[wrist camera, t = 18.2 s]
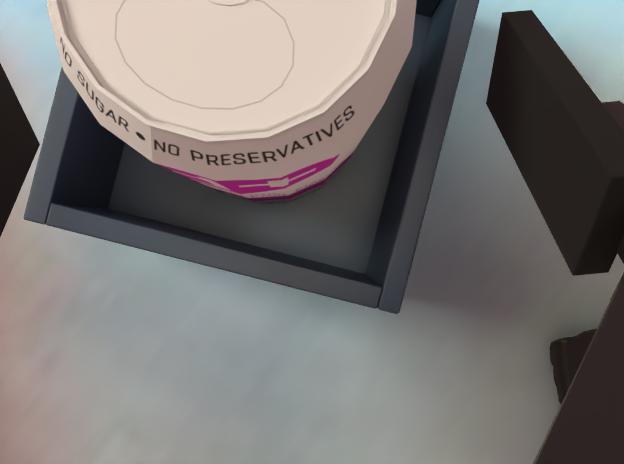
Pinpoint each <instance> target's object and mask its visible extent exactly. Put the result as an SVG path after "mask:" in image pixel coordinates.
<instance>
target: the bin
mask: <svg viewBox="0 0 624 464" xmlns="http://www.w3.org/2000/svg"><path fill="white" fill-rule="evenodd" d="M478 4H479V0H417V2H416V12H415V21H414V31H413V40H412V47H411V49H410V52H409V54H408V56H407V58H406V60H405V62H404V64H403V66H402V68H401V70H400V72H399V74H398V76H397V78H396V80H395V82H394V84H393V87H392V89H391V91H390V93H389V95H388V97H387V99H386V101H385V103H384V105H383V106H382V108H381V110H380V111H379V113H378V114H377V116H376V117H375V119H374V121H373V122H372V124H371V125H370V127H369V128H368V130H367V131H366V133H365V135H364V136H363V138H362V139H361V141H360V142H359V144H358V145H357V147H356V149H355V150H354V152H353V153H352V155H351V156H350V158H349V159H348V161H347V163H346V164H345V166H344V167H343V168H342V169H341V170H340V171H338V172H337V173H336V174H335V175H334V176H333V177H332V178H331V179H330V180H329V181H328V182H327V183H326V184H325V185H324V186H323V187H322V188H321V189H318V190H316V191H314V192H312V193H309V194H307V195H305V196H303V197H300V198H298V199H296V200H294V201H291V202H277V203H263V204H258V203H255V202H251V201H248V200H244V199H241V198H237V197H234V196H230V195H227V194H225V193H222V192H220V191H218V190H215V189H213V188H211V187H209V186H206V185H204V184H202V183H199V182H197V181H195V180H192V179H190V178H188V177H186V176H183V175H181V174H179V173H176V172H174V171H172V170H169V169H167V168H165V167H163V166H160V165H158V164H156V163H153V162H152V161H150V160H149V159H147V158H146V157H145V156H143V155H142V154H141V153H139V152H138V151H136V150H135V149H134V148H132V147H131V146H129V145H128V144H127V143H125V142H124V141H123V140H121V139H120V138H118V137H117V136H116V135H114V134H113V133H111V132H110V131H109V130H107V129H106V128H105V127H103V126H102V125H100V124H99V122H98V121H97V119H96V118H95V116H94V115H93V113H92V112H91V110H90V109H89V107H88V106H87V104H86V103H85V102H84V100H83V99H82V97H81V96H80V94H79V93H78V91H77V90H76V88H75V87H74V85H73V84H72V82H71V81H70V79H69V78H68V77H67V75H66V74H65V72H64V71H63V67H62V69H61V72H60V76H59V80H58V84H57V88H56V92H55V96H54V100H53V104H52V108H51V112H50V116H49V120H48V124H47V128H46V132H45V135H44V139H43V143H42V147H41V151H40V155H39V159H38V163H37V167H36V171H35V175H34V179H33V183H32V187H31V191H30V195H29V198H28V202H27V206H26V210H25V214H24V219H25V220H29V221H33V222H37V223H41V224H47V225H49V226H53V227H56V228H60V229H64V230H68V231H72V232H76V233H80V234H84V235H88V236H92V237H96V238H100V239H104V240H108V241H112V242H115V243H119V244H123V245H127V246H131V247H135V248H139V249H143V250H147V251H151V252H155V253H159V254H163V255H167V256H170V257H174V258H178V259H182V260H186V261H190V262H194V263H198V264H202V265H206V266H210V267H214V268H218V269H222V270H226V271H229V272H233V273H237V274H241V275H245V276H249V277H253V278H257V279H261V280H265V281H269V282H273V283H277V284H281V285H285V286H288V287H292V288H296V289H300V290H304V291H308V292H312V293H316V294H320V295H324V296H328V297H332V298H336V299H340V300H343V301H347V302H351V303H355V304H359V305H363V306H367V307H371V308H375V309H376V308H378V309H380V310H383V311H387V312H391V313H395V314H398V313H399V312H400V308H401V304H402V300H403V296H404V292H405V288H406V284H407V281H408V277H409V273H410V269H411V265H412V261H413V257H414V253H415V249H416V245H417V242H418V238H419V234H420V230H421V226H422V222H423V218H424V214H425V210H426V206H427V203H428V199H429V195H430V191H431V187H432V183H433V179H434V175H435V171H436V168H437V164H438V160H439V156H440V152H441V148H442V144H443V140H444V136H445V132H446V129H447V125H448V121H449V117H450V113H451V109H452V105H453V101H454V97H455V93H456V90H457V86H458V82H459V78H460V74H461V70H462V66H463V62H464V58H465V54H466V51H467V47H468V43H469V39H470V35H471V31H472V27H473V23H474V19H475V15H476V12H477V8H478Z"/></svg>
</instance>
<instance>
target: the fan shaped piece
mask: <svg viewBox="0 0 624 464" xmlns="http://www.w3.org/2000/svg"><path fill="white" fill-rule="evenodd" d="M596 330H597V329H594V330H589V331H584V332H582V333H581V334H579V335H577V336H574V337H569V338H562V339H558V340H555V341H553V342H552V343H551V346H550V357H551V363H552V365H553V372H554V380H555V384H556V386H557V392H558V395H559V402H560V404H562V402H563V399H564V397H565V395H566V393H567V391H568V389H569V387H570V385H571V383H572V381H573V378H574V376H575V374H576V372H577V370H578V368H579V366H580V364H581V362H582V359H583V357H584V355H585V353H586V351H587V349H588V347H589V345H590V343H591V341H592V338H593V336H594V334H595V332H596Z"/></svg>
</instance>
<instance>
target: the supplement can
mask: <svg viewBox="0 0 624 464" xmlns="http://www.w3.org/2000/svg"><path fill="white" fill-rule="evenodd" d="M416 2H417V0H48V5H47V8H48V12H49V16H50V20H51V24H52V28H53V32H54V36H55V40H56V44H57V48H58V52H59V56H60V59H61V63H62V67H63V71H64V72H65V74H66V75H67V77H68V78H69V79H70V81H71V82H72V84H73V85H74V87H75V88H76V90H77V91H78V93H79V94H80V96H81V97H82V99H83V100H84V102H85V103H86V104H87V106H88V107H89V109H90V110H91V112H92V113H93V115H94V116H95V118H96V119H97V121H98V122H99V124H100V125H102V126H103V127H105V128H106V129H107V130H109V131H110V132H111V133H113V134H114V135H116V136H117V137H118V138H120V139H121V140H123V141H124V142H125V143H127V144H128V145H129V146H131V147H132V148H134V149H135V150H136V151H138V152H139V153H141V154H142V155H143V156H145V157H146V158H147V159H149V160H150V161H152V162H153V163H156V164H158V165H160V166H163V167H165V168H167V169H169V170H172V171H174V172H176V173H179V174H181V175H183V176H186V177H188V178H190V179H192V180H195V181H197V182H199V183H202V184H204V185H206V186H209V187H211V188H213V189H215V190H218V191H220V192H222V193H225V194H227V195H230V196H234V197H237V198H241V199H244V200H248V201H251V202H255V203H258V204H263V203H277V202H291V201H294V200H296V199H298V198H300V197H303V196H305V195H307V194H309V193H312V192H314V191H316V190H318V189H321V188H322V187H323V186H324V185H325V184H326V183H327V182H328V181H329V180H330V179H331V178H332V177H333V176H334V175H335V174H336V173H337V172H338V171H340V170H341V169H342V168H343V167H344V166H345V164H346V163H347V161H348V159H349V158H350V156H351V155H352V153H353V152H354V150H355V149H356V147H357V145H358V144H359V142H360V141H361V139H362V138H363V136H364V135H365V133H366V131H367V130H368V128H369V127H370V125H371V124H372V122H373V121H374V119H375V117H376V116H377V114H378V113H379V111H380V110H381V108H382V106H383V105H384V103H385V101H386V99H387V97H388V95H389V93H390V91H391V89H392V87H393V84H394V82H395V80H396V78H397V76H398V74H399V72H400V70H401V68H402V66H403V64H404V62H405V60H406V58H407V56H408V54H409V52H410V49H411V47H412V40H413V31H414V21H415V12H416Z"/></svg>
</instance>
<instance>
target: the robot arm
mask: <svg viewBox="0 0 624 464" xmlns="http://www.w3.org/2000/svg"><path fill="white" fill-rule="evenodd" d="M486 104H487V106H488V108H489V110H490V112H491V114H492V116H493V118H494V120H495V122H496V124H497V126H498V128H499V130H500V132H501V134H502V136H503V138H504V140H505V142H506V144H507V146H508V148H509V150H510V152H511V154H512V156H513V158H514V160H515V162H516V164H517V166H518V168H519V170H520V172H521V174H522V176H523V178H524V180H525V182H526V184H527V186H528V188H529V190H530V192H531V194H532V196H533V198H534V200H535V202H536V204H537V206H538V208H539V210H540V212H541V214H542V215H543V217H544V219H545V221H546V223H547V225H548V227H549V229H550V231H551V233H552V235H553V237H554V239H555V241H556V243H557V245H558V247H559V249H560V251H561V253H562V255H563V257H564V259H565V261H566V263H567V265H568V267H569V269H570V271H571V273H572V275H573V276H575V275H585V274H596V273H607V272H609V270H610V268H611V265H612V263H613V261H614V259H615V257H616V255H617V253H618V255H619V257H620V258H621V260H622V262H623V263H624V104H623V103H622V102H620V101H614V102H604V103H601V102H600V100H599V99H598V98H597V96H596V95H595V94H594V92H593V91H592V90H591V88H590V87H589V86H588V84H587V83H586V82H585V80H584V79H583V78H582V76H581V75H580V74H579V72H578V71H577V70H576V68H575V67H574V66H573V64H572V63H571V62H570V60H569V59H568V58H567V56H566V55H565V54H564V52H563V51H562V50H561V49H560V47H559V46H558V45H557V43H556V42H555V41H554V39H553V38H552V37H551V35H550V34H549V33H548V31H547V30H546V29H545V27H544V26H543V25H542V23H541V22H540V21H539V19H538V18H537V17H536V15H535V14H534V13H533V11H532V10H528V11H516V12H505V13H502V17H501V23H500V29H499V34H498V40H497V46H496V51H495V57H494V62H493V68H492V74H491V79H490V85H489V91H488V96H487V102H486ZM39 145H40V144H39V142H38V140H37V138H36V136H35V134H34V131H33V129H32V127H31V125H30V123H29V121H28V119H27V117H26V115H25V113H24V111H23V109H22V107H21V105H20V103H19V101H18V99H17V96H16V94H15V92H14V90H13V88H12V86H11V84H10V82H9V80H8V78H7V76H6V74H5V72H4V70H3V68H2V66H1V64H0V236H1V234H2V232H3V229H4V227H5V225H6V222H7V220H8V218H9V215H10V213H11V211H12V208H13V206H14V203H15V201H16V199H17V196H18V194H19V192H20V189H21V187H22V185H23V182H24V180H25V178H26V175H27V173H28V171H29V168H30V166H31V164H32V161H33V159H34V157H35V154H36V152H37V150H38V147H39ZM533 464H624V273H623V275H622V277H621V279H620V281H619V283H618V285H617V288H616V290H615V292H614V294H613V296H612V298H611V301H610V303H609V305H608V307H607V309H606V311H605V313H604V315H603V317H602V319H601V322H600V324H599V326H598V328H597V330H596V332H595V334H594V336H593V338H592V341H591V343H590V345H589V347H588V349H587V351H586V353H585V355H584V357H583V359H582V362H581V364H580V366H579V368H578V370H577V372H576V374H575V376H574V378H573V381H572V383H571V385H570V387H569V389H568V391H567V393H566V395H565V397H564V399H563V402H562V404H561V406H560V408H559V410H558V412H557V414H556V416H555V418H554V421H553V423H552V425H551V427H550V429H549V431H548V433H547V435H546V437H545V440H544V442H543V444H542V446H541V448H540V450H539V452H538V454H537V456H536V458H535V461H534V463H533Z"/></svg>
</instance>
